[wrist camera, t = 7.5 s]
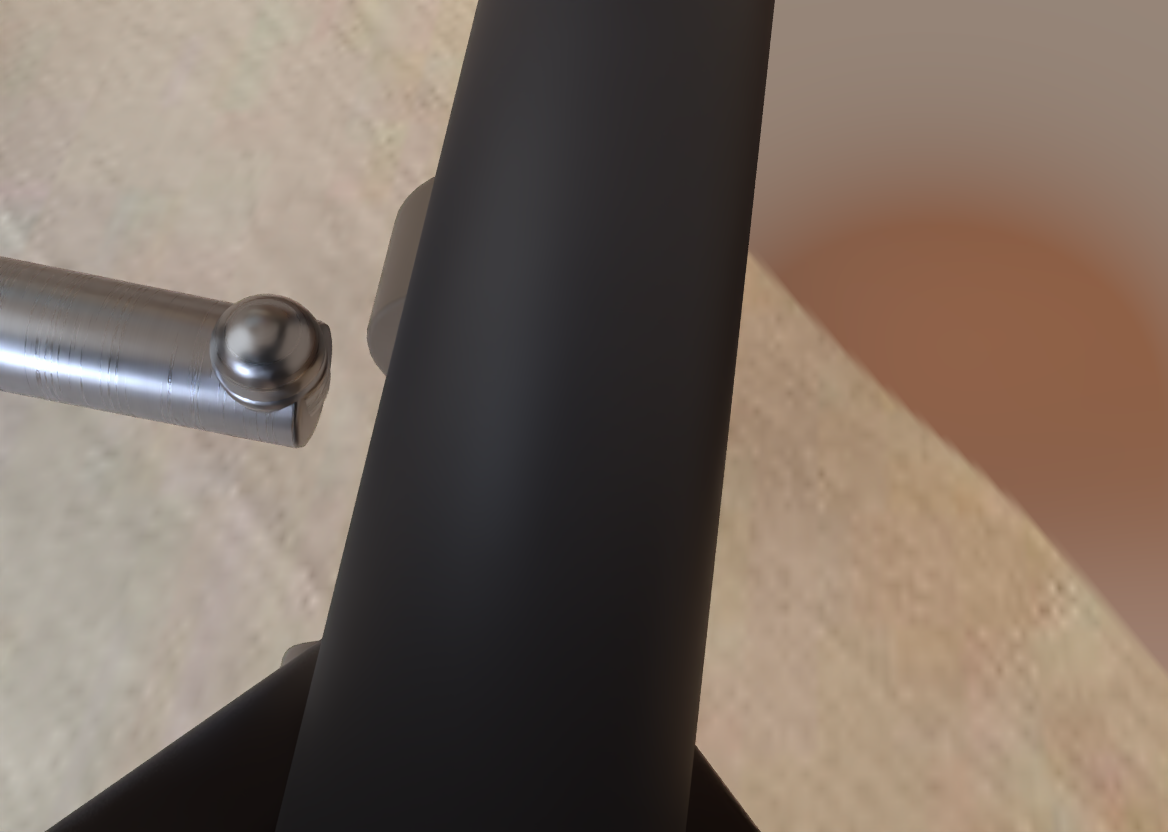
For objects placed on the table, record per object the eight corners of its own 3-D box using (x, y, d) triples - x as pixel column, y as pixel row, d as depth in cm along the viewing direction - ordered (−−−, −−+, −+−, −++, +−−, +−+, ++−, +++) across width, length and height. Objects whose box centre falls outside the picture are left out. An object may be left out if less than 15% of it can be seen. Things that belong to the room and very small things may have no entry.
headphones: (597, 988, 13) (1156, 1345, 3) (250, 932, 13) (-378, 1125, 3) (686, 305, 16) (1075, -550, 7) (416, 252, 16) (401, -720, 6)
